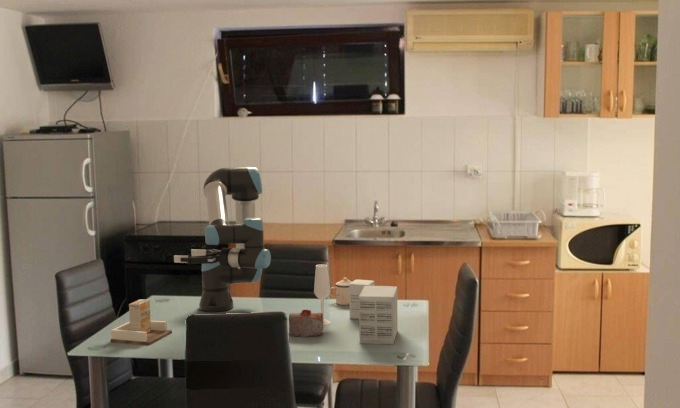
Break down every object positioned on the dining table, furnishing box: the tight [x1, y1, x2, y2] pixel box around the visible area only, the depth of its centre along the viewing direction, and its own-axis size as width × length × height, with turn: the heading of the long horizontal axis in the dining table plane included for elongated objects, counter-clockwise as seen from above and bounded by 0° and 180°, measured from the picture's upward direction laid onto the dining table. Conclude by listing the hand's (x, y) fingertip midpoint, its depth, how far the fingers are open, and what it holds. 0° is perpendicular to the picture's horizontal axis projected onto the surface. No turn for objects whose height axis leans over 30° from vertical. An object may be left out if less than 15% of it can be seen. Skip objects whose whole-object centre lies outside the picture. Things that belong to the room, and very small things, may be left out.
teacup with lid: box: [329, 277, 353, 306], centre depth 315 cm, size 12×9×12 cm
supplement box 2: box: [348, 279, 376, 320], centre depth 292 cm, size 9×9×15 cm
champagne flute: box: [313, 263, 331, 326], centre depth 283 cm, size 7×7×24 cm
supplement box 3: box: [358, 285, 398, 345], centre depth 263 cm, size 17×13×18 cm
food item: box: [288, 309, 325, 338], centre depth 268 cm, size 14×8×10 cm, turn 89°
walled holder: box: [110, 319, 173, 346], centre depth 269 cm, size 17×16×4 cm
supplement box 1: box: [128, 298, 152, 333], centre depth 268 cm, size 8×5×13 cm, turn 167°
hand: (183, 255), depth 276 cm, fingers open, 13 cm apart
